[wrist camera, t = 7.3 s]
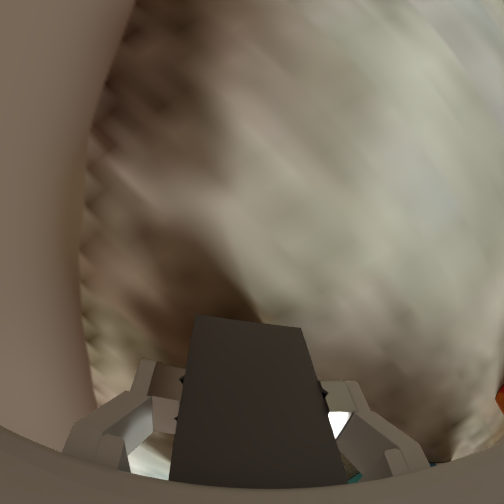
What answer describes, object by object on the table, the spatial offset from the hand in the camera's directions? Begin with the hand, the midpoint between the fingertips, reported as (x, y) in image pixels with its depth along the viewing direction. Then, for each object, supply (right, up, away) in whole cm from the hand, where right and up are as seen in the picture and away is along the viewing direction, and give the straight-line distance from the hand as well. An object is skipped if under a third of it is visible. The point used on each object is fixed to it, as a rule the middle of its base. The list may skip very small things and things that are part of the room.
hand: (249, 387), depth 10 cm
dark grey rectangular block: (0, +1, +3) cm, 3 cm away
